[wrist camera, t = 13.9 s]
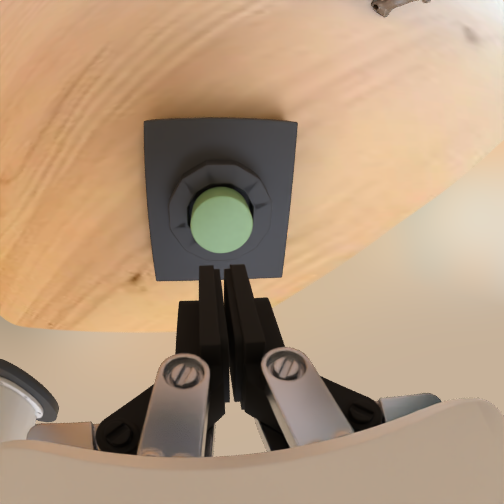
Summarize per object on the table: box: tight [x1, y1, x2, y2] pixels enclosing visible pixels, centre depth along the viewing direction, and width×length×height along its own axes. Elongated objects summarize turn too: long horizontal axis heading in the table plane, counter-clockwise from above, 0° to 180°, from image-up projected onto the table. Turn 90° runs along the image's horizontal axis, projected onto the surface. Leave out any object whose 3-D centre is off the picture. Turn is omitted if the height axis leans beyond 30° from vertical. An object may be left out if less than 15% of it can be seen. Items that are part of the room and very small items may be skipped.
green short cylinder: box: [190, 187, 253, 253], centre depth 17 cm, size 4×4×2 cm
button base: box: [144, 117, 298, 281], centre depth 20 cm, size 12×10×5 cm
